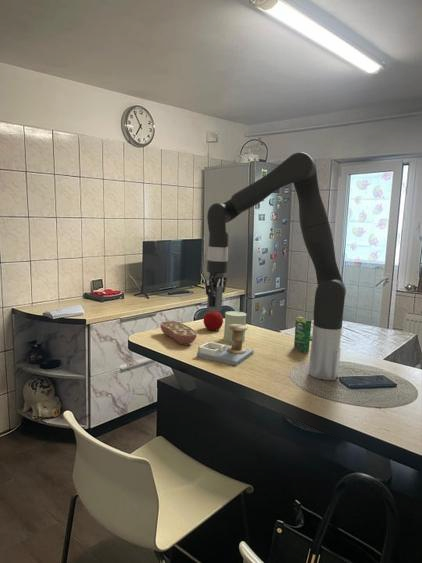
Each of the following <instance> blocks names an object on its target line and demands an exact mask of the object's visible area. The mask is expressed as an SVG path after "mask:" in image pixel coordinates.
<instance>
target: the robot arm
mask: <svg viewBox="0 0 422 563" xmlns="http://www.w3.org/2000/svg"><path fill="white" fill-rule="evenodd" d="M317 172H318V171H317V165H316V163H315V160H314V159H313V158H312V157H311V156H310V155H309V154H308V153H306V152H301V151H299V152H295V153H292V154H291V155H289V156H288V157H287V158H286V159H285V160H283V161H282V162H281V163H279V164H278V166H277V167H274V169H272V170H271V171H269V172H268V173H267V174H265V175H264V176H262V177H261V178H259V179H257V180H256V181H254V182H252V183H251V184H249V185H246V186H245V187H244V188H241V189H240V190H238V191H237V192H235V193H233V195H232V196H231V197H230V199H228V200H226V201H225V202H223V203H219V202H215V203H212V204H211V205H210V206H209V208H208V210H207V218H206V219H207V226H208V232H209V233H208V234H209V235H208V250H207V254H206V255H207V257H206V259H207V260H206V272H208V273H209V275H208V279H205V280H204V287H205V295H206V296H207V297H208V296H209V306H210V307H215V299H216V297H215V296H216V291H217V290H218V287H219V286H223V293H222V294H224V293H225V290H226V287H227V286H226V285H227V281H228V277H227V276H224V274H226V273H228V266H229V265H228V263H229V249H228V248H229V233H228V231H227V223H229V222H231V221H232V220H233V221H234V219H236V218H237V217H238V216H239V215H241V214H242V213H244V212H247V211H248V210H249V209H251V208H253V207H255V206H256V205H258V204H260V203H261V202H263V201H264V200H265V199H266V198H268V197H269V196H270V195H271V194H272V195H273V193H275V192H276V191H278V190H280V189H281V188H283V187H285V186H288V185H290V184H293V186H294V188H295V192H296V196H297V200H298V215H299V216H298V217H299V223H300V224H299V225H300V231H301V234H302V239H303V243H304V245H305V248H306V251H307V252H308V254H309V255H308V256H309V258H310V259H311V261H312V263H313V266H314V271H315V275H316V282H317V284H316V285H317V287H316V289H315V294H314V303H313V325H312V333H311V334H312V336H311V342H310V344H311V346H310V353H309V354H310V355H309V363H308V364H309V366H308V375H309V376H311V377H312V378H315V379H317V380H321V379H323V381H333V380H335V381H336V380H337V378H338V375H339V368H340V359H341V358H340V357H341V348H340V346H341V338H342V328H343V320H344V318H343V317H344V309H345V300H346V299H345V298H346V292H347V290H346V286H345V283H344V280H343V279H342V275H341V274H340V270H339V267H338V263H337V258H336V252H335V244H334V239H333V234H332V228H331V225H330V222H329V218H328V214H327V211H326V208H325V204H324V202H323V200H322V196H321V193H320V188H319V181H318V175H317V174H318V173H317ZM213 287H216V288H213ZM213 290H214V292H213ZM336 377H337V378H336Z"/></svg>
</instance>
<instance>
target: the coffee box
mask: <svg viewBox="0 0 422 563" xmlns="http://www.w3.org/2000/svg"><path fill="white" fill-rule="evenodd" d="M294 328H295V330H294V343H293V348H294V349H297V351H300V352H301V353H303V354H308V353H309V352H310V344H311V331H312V320H310V319H308V318H305V317H304V316H303V317H302V316H296V317H295V327H294Z"/></svg>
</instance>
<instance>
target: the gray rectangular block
mask: <svg viewBox="0 0 422 563" xmlns="http://www.w3.org/2000/svg"><path fill="white" fill-rule="evenodd" d="M213 288H216V287H213ZM213 292H214V290H213ZM223 294H224V293H223V286H219V287H218V290H217V291H216V296H215V297H216V299H215V307H210V306H209V296H208V295H207V300H206V302H207V303H206V311H207V312H211V311H214V312H220V311H222V306H223V305H222V304H223Z"/></svg>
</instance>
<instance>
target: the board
mask: <svg viewBox="0 0 422 563" xmlns="http://www.w3.org/2000/svg"><path fill="white" fill-rule="evenodd" d="M230 346H232V344H231V345H229V344H226V343H220V342H213V341H207V342H206V343H204V344H201V345H199V346H198V347H197V352H196V357H197V358H201V359H205V360H209V361H214V362H219V363H224V364H228V365H232V366H236V367H237V366H239V365H240V364H241V363H243V362H244V361H245V360H247V359H249V358H250V357H251V356H253V355H254V349H250V348H245V349H246V352H245V353H243V354H234V353H230V352H228V351H227V348H228V347H230Z"/></svg>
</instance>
